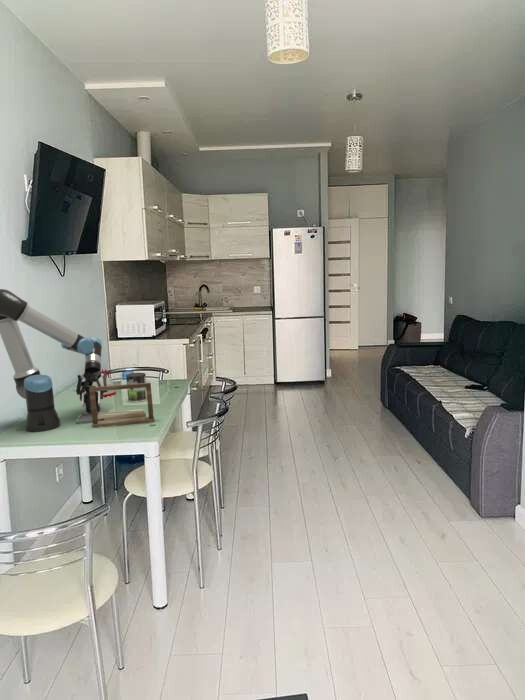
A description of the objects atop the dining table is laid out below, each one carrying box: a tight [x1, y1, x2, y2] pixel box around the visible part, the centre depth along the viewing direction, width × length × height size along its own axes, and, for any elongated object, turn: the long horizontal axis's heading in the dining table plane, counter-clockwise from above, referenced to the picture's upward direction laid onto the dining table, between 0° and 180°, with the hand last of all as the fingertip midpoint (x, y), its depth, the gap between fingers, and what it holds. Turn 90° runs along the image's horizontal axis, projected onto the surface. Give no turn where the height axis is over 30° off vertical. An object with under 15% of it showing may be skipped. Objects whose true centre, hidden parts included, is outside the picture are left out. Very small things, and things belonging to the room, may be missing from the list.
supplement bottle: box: [84, 385, 102, 413], centre depth 258 cm, size 7×7×12 cm
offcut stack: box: [97, 408, 147, 424], centre depth 248 cm, size 5×21×4 cm, turn 98°
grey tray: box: [75, 410, 110, 425], centre depth 259 cm, size 13×13×2 cm
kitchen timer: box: [91, 368, 117, 398], centre depth 310 cm, size 14×14×15 cm
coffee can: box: [125, 372, 147, 403], centre depth 293 cm, size 10×10×14 cm
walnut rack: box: [89, 382, 155, 428], centre depth 248 cm, size 6×27×18 cm, turn 99°
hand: (91, 405), depth 255 cm, fingers closed on supplement bottle, 7 cm apart
